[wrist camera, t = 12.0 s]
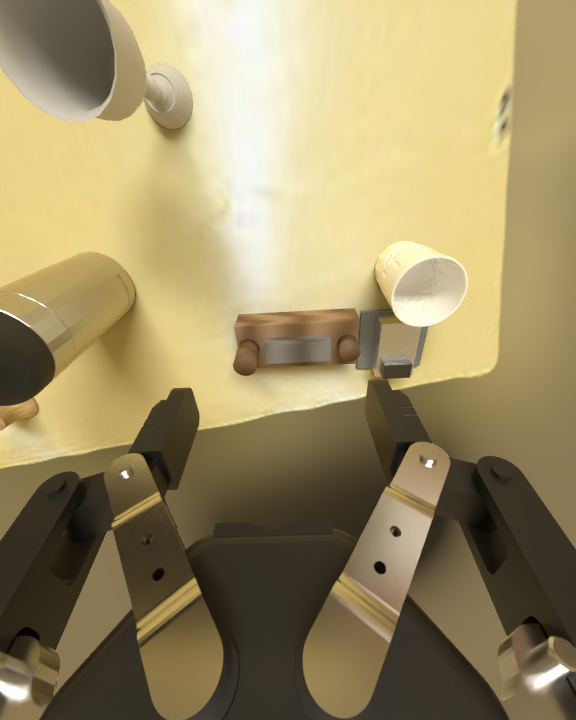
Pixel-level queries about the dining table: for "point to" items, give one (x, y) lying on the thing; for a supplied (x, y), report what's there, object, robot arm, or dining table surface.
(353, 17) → the dining table surface
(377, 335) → the lever cap
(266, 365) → the plane body
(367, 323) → the slate mat
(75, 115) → the chalice
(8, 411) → the hand bell
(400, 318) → the white cup
